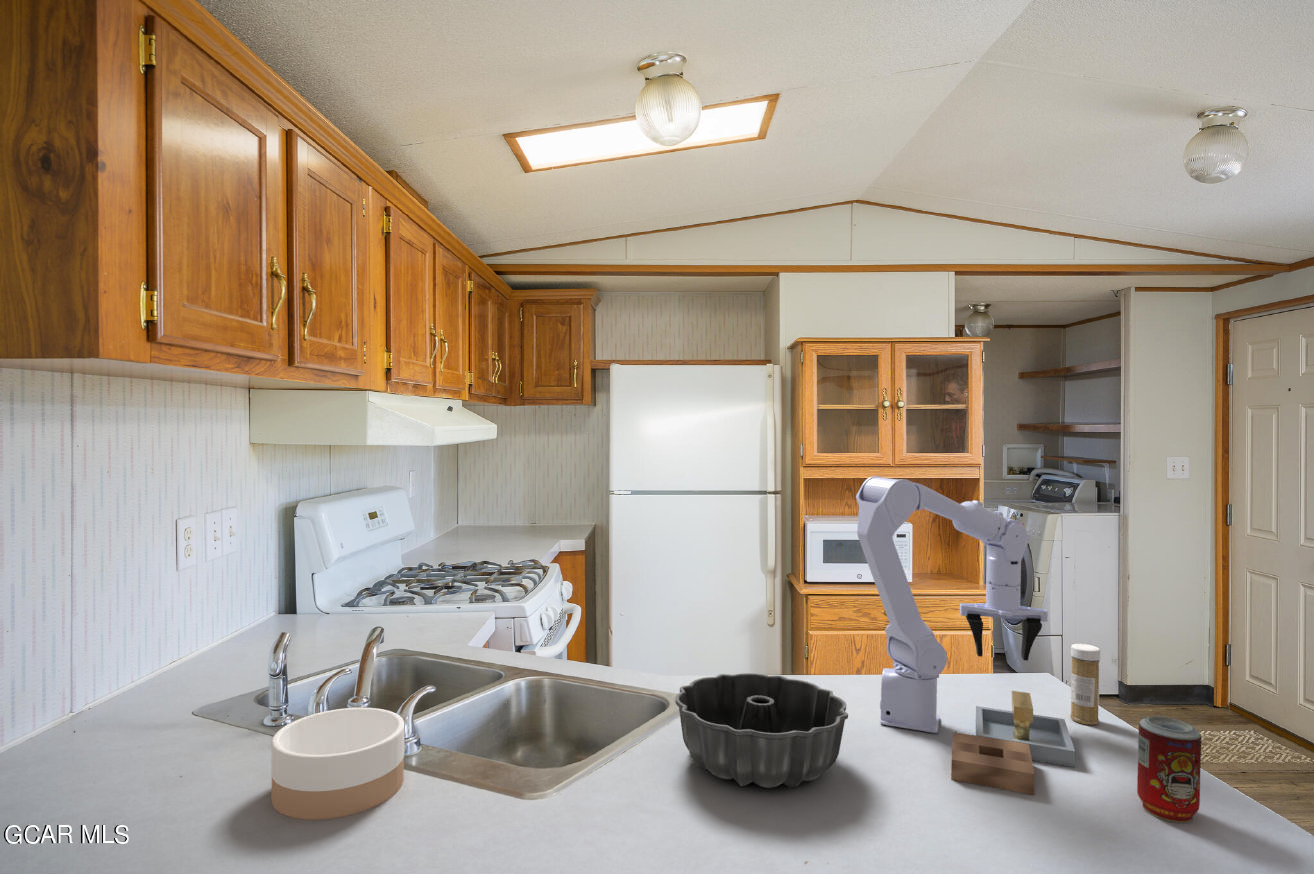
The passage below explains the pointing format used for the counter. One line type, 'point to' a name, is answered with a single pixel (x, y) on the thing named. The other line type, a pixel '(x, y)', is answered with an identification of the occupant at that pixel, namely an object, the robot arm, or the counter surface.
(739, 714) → the bundt pan
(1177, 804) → the soda can
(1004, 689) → the counter surface
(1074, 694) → the sprinkles bottle
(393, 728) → the bowl
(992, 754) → the slot block
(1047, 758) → the tray
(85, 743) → the counter surface
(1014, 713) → the t key
